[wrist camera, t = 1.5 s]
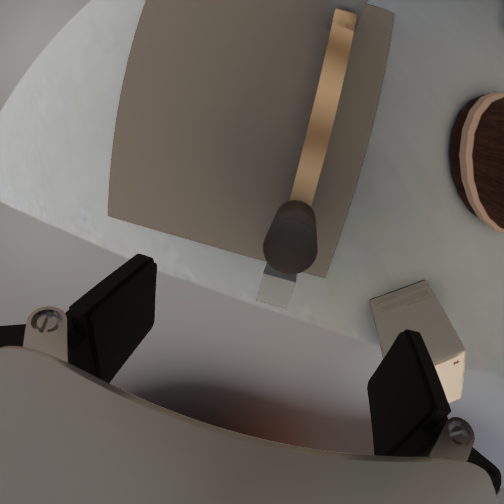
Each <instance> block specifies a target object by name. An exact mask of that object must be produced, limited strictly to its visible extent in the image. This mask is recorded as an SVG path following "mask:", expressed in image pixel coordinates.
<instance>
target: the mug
mask: <svg viewBox="0 0 504 504" xmlns="http://www.w3.org/2000/svg"><path fill="white" fill-rule="evenodd" d="M450 154H451V163H452V173H453V177H454V180H455V183H456V186H457V189H458V192H459V195H460V197H461V198H462V200H463V201H464V203H465V204H466V206H467V207H468V209H469V211H470V212H472V213H473V214H474V215H475V216H477V217H478V218H479V219H480V220H481V221H482V222H484V223H485V224H486V225H487V226H488V227H490V228H491V229H493V230H496V231H500V232H503V233H504V92H492V93H489V94H487V95H483V96H480V97H478V98H475V99H473V100H471V101H470V102H469V103H468V104H467V105H466V106H465V108H464V109H463V110H462V111H461V112H460V114H459V116H458V119H457V122H456V124H455V127H454V129H453V134H452V143H451V151H450Z"/></svg>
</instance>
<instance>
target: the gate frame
mask: <svg viewBox="0 0 504 504" xmlns="http://www.w3.org/2000/svg"><path fill="white" fill-rule="evenodd" d="M367 1H368V0H330V2H329V10H328V18H327V29H328V31H329V32H330V31H331V27H332V22H333V17H334V13H335V9H339V10H343V11H347V12H350V13H354V14H357V18H356V23H355V29H354V32H355V30H356V28H357V25H358V23H359V20H360V18H361V16H362V13H363V11H364V9H365V6H366V4H367ZM296 276H297V274H285V273H281V272H279V271H277V270H275V269H274V268H273V267H271V266H270V265H269V263H268V262H267V264H266V267H265V270H264V273H263V277H262V280H261V284H260V288H259V291H258V295H257V299H256V301H260V302H263V303H267V304H270V305H274V306H277V307H281V308H285V309H287V306H288V304H289V301H290V298H291V295H292V292H293V289H294V286H295V283H296Z"/></svg>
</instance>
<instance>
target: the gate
mask: <svg viewBox="0 0 504 504" xmlns="http://www.w3.org/2000/svg"><path fill="white" fill-rule="evenodd" d="M356 18H357V14H354V13H350V12H347V11H343V10H339V9H335V13H334V17H333V22H332V27H331V31H330V36H329V40H328V45H327V49H326V54H325V58H324V62H323V67H322V71H321V75H320V80H319V84H318V88H317V92H316V97H315V101H314V105H313V109H312V113H311V117H310V121H309V126H308V130H307V134H306V138H305V142H304V146H303V150H302V154H301V158H300V161H299V165H298V169H297V173H296V177H295V181H294V185H293V189H292V192H291V196H290V200H289V201H288V202H286V203H284V204H282V205H281V206H280V207H279V209H278V210H277V212H276V214H275V217H274V219H273V221H272V223H271V226H270V228H269V230H268V232H267V235H266V237H265V239H264V243H263V253H264V256H265V259H266V261H267V262H268V263H269V265H270V266H271V267H273V268H274V269H275V270H277V271H279V272H281V273H285V274H297V273H301V272H303V271H305V270H307V269H308V268H309V267H310V266H311V265H312V264H313V263H314V261H315V259H316V257H317V252H318V246H317V227H316V216H315V213H314V211H313V209H312V208H311V205H312V201H313V198H314V194H315V191H316V187H317V184H318V180H319V176H320V173H321V169H322V165H323V162H324V158H325V154H326V150H327V146H328V142H329V139H330V135H331V131H332V127H333V123H334V119H335V115H336V111H337V106H338V102H339V98H340V94H341V89H342V85H343V81H344V76H345V72H346V67H347V63H348V58H349V53H350V48H351V44H352V39H353V34H354V29H355V23H356Z"/></svg>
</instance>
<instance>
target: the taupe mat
mask: <svg viewBox="0 0 504 504" xmlns="http://www.w3.org/2000/svg"><path fill="white" fill-rule="evenodd" d="M329 2H330V0H146V1H145V4H144V7H143V10H142V13H141V16H140V19H139V23H138V26H137V29H136V33H135V36H134V40H133V43H132V47H131V51H130V55H129V59H128V63H127V67H126V71H125V76H124V80H123V85H122V90H121V95H120V101H119V107H118V112H117V119H116V125H115V133H114V140H113V149H112V158H111V169H110V182H109V199H108V216H110V217H113V218H116V219H120V220H123V221H127V222H130V223H134V224H137V225H141V226H144V227H147V228H151V229H154V230H158V231H161V232H165V233H168V234H172V235H175V236H179V237H182V238H185V239H189V240H192V241H196V242H199V243H203V244H206V245H210V246H213V247H217V248H220V249H224V250H227V251H231V252H234V253H238V254H241V255H245V256H248V257H252V258H255V259H259V260H262V261H266V259H265V256H264V253H263V243H264V239H265V237H266V235H267V232H268V230H269V228H270V226H271V223H272V221H273V219H274V217H275V214H276V212H277V210H278V209H279V207H280V206H281V205H282V204H284V203H286V202H288V201H289V200H290V196H291V192H292V189H293V185H294V181H295V177H296V173H297V169H298V165H299V161H300V158H301V154H302V150H303V146H304V142H305V138H306V134H307V130H308V126H309V121H310V117H311V113H312V109H313V105H314V101H315V97H316V92H317V88H318V84H319V80H320V75H321V71H322V67H323V62H324V58H325V54H326V49H327V45H328V40H329V36H330V32H329V31H328V29H327V18H328V10H329ZM393 20H394V13H393V12H390V11H387V10H385V9H382V8H379V7H376V6H373V5H370V4H366V6H365V9H364V11H363V13H362V16H361V18H360V20H359V23H358V25H357V28H356V30H355V32H354V34H353V39H352V44H351V48H350V53H349V58H348V63H347V67H346V72H345V76H344V81H343V85H342V89H341V94H340V98H339V102H338V106H337V111H336V115H335V119H334V123H333V127H332V131H331V135H330V139H329V142H328V146H327V150H326V154H325V158H324V162H323V165H322V169H321V173H320V176H319V180H318V184H317V187H316V191H315V194H314V198H313V201H312V205H311V208H312V209H313V211H314V213H315V216H316V227H317V246H318V252H317V257H316V259H315V261H314V263H313V264H312V265H311V266H310V267H309V268H308V269H307V270H305V271H303V272H305V273H308V274H312V275H316V276H319V277H323V278H325V276H326V274H327V271H328V268H329V266H330V263H331V260H332V257H333V255H334V252H335V249H336V246H337V243H338V240H339V237H340V234H341V232H342V229H343V226H344V223H345V219H346V216H347V213H348V210H349V207H350V204H351V201H352V198H353V194H354V191H355V188H356V184H357V181H358V178H359V174H360V171H361V167H362V164H363V160H364V157H365V153H366V149H367V146H368V142H369V138H370V134H371V130H372V126H373V122H374V118H375V114H376V110H377V105H378V101H379V97H380V92H381V87H382V83H383V78H384V73H385V68H386V62H387V57H388V51H389V46H390V40H391V33H392V27H393ZM266 262H267V261H266Z"/></svg>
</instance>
